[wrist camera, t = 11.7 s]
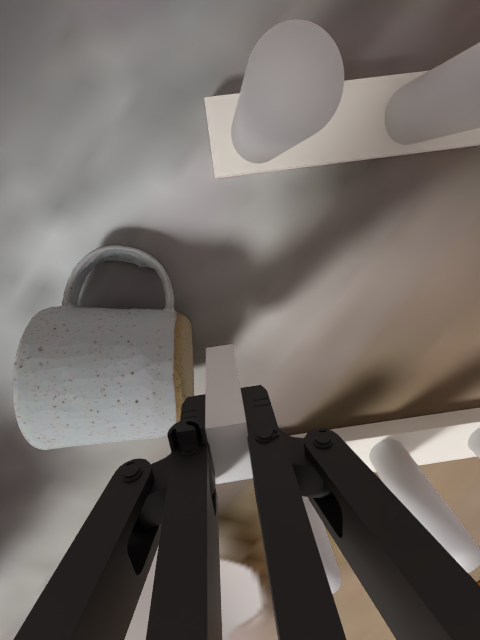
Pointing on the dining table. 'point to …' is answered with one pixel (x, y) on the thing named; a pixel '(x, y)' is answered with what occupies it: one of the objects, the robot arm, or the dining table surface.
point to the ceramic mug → (102, 366)
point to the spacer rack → (346, 146)
